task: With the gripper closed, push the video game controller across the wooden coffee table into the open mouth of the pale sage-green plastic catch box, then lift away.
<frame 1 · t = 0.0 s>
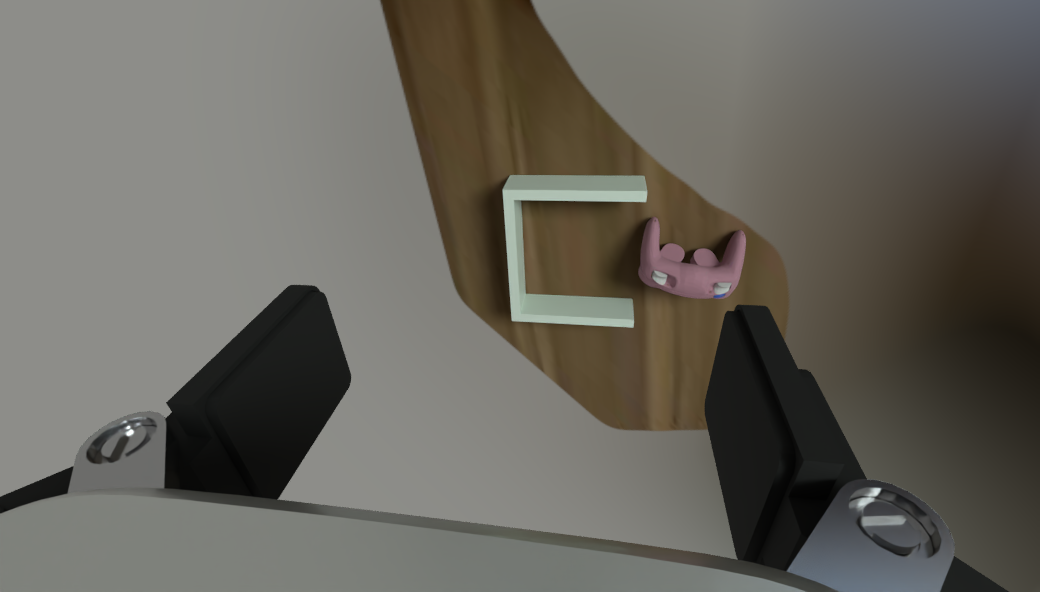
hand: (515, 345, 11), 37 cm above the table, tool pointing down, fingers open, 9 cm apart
video game controller: (687, 245, 49), on the table
catch box: (579, 244, 50), on the table
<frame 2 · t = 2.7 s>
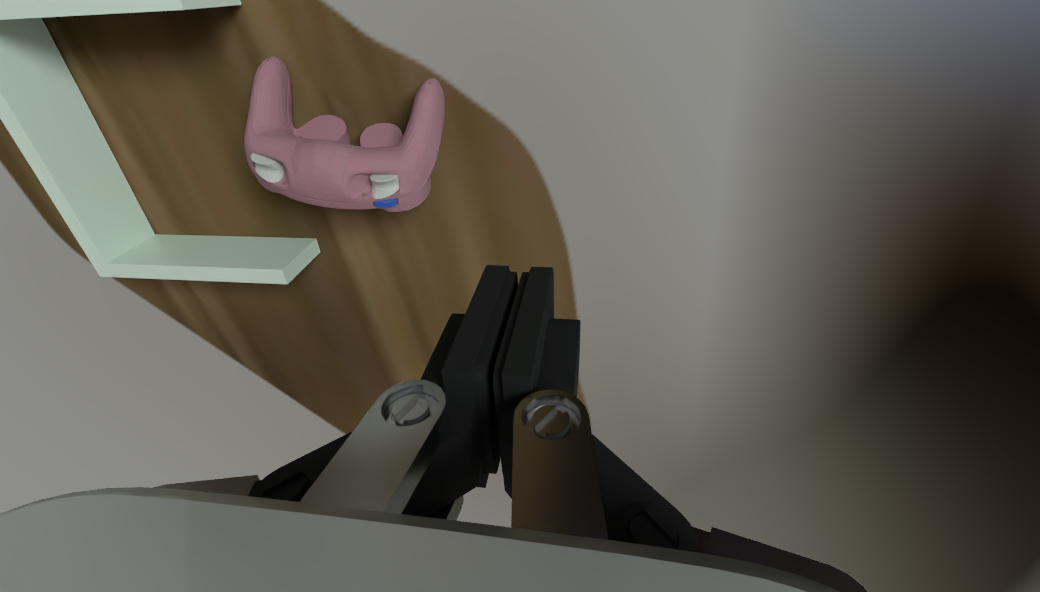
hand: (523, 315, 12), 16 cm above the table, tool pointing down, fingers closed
video game controller: (365, 121, 27), on the table
catch box: (191, 137, 28), on the table
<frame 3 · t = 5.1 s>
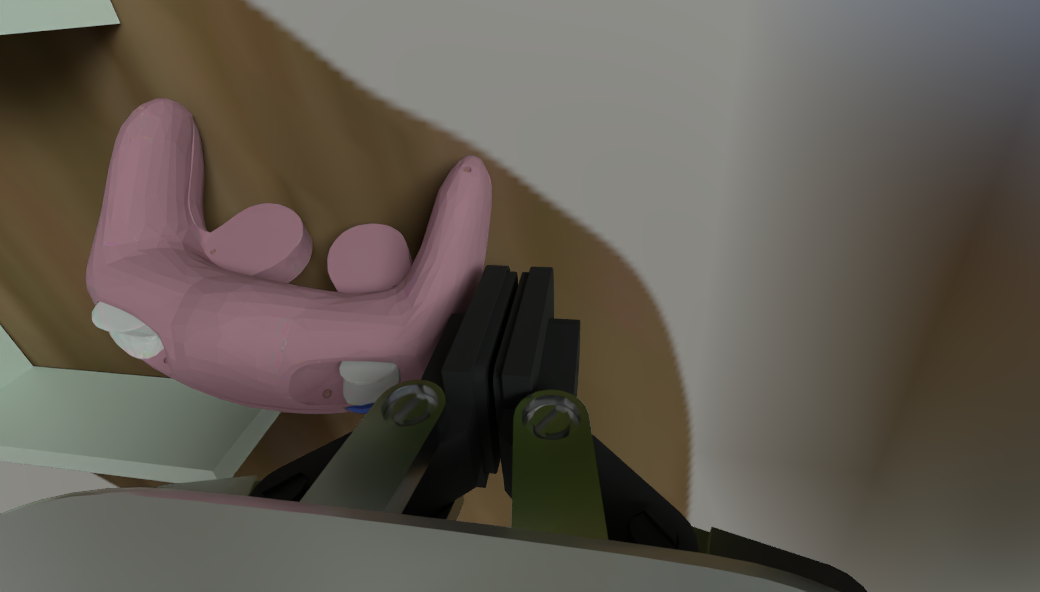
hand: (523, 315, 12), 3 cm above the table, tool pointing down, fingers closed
video game controller: (342, 213, 15), on the table, touching gripper
catch box: (65, 240, 17), on the table
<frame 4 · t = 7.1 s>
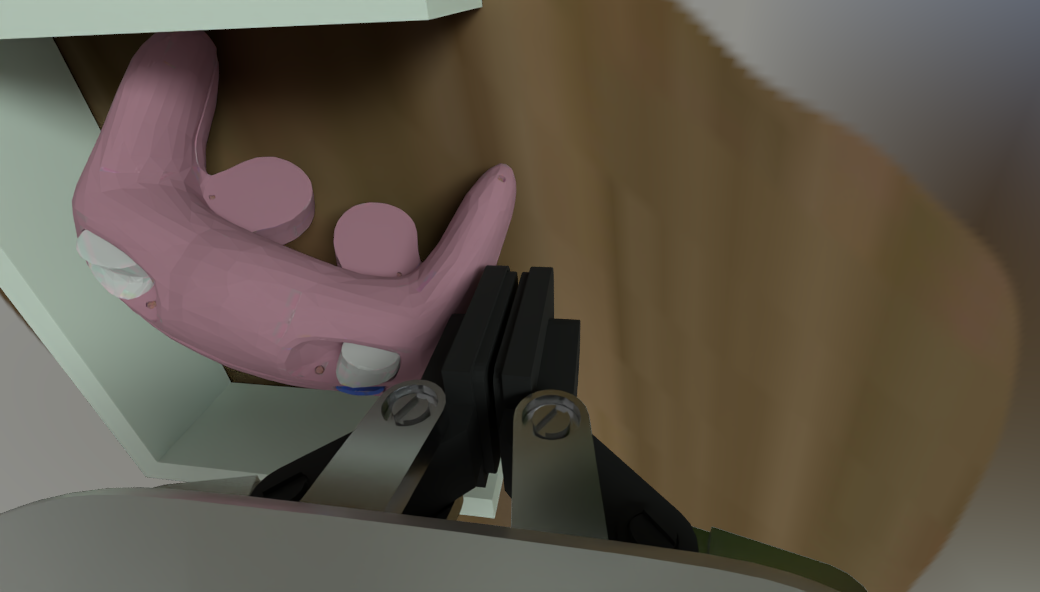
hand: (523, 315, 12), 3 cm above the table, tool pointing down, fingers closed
video game controller: (351, 184, 14), on the table, touching gripper
catch box: (320, 249, 15), on the table
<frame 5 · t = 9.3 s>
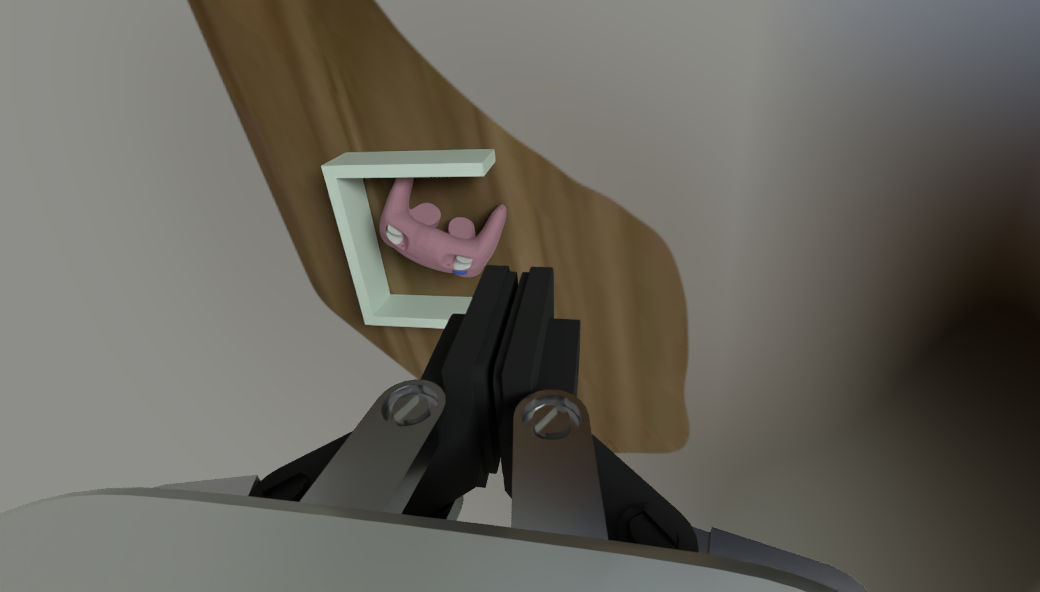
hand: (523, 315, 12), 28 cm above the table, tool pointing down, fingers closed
video game controller: (451, 211, 42), on the table
catch box: (437, 234, 43), on the table
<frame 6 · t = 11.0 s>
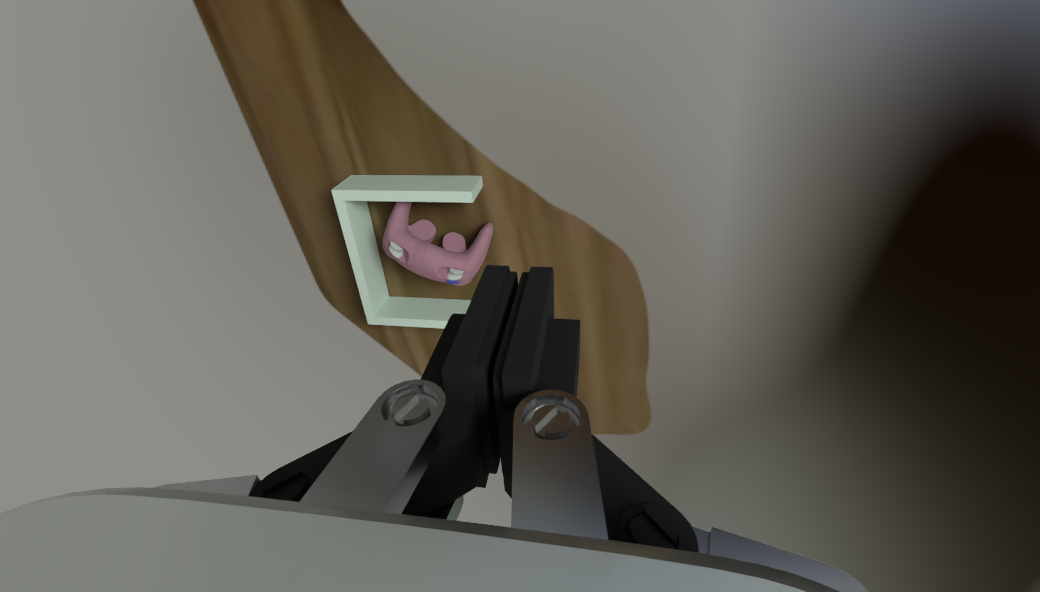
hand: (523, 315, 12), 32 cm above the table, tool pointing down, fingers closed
video game controller: (444, 226, 48), on the table
catch box: (431, 246, 49), on the table
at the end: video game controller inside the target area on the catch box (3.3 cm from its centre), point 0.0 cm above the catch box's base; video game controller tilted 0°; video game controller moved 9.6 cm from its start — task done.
